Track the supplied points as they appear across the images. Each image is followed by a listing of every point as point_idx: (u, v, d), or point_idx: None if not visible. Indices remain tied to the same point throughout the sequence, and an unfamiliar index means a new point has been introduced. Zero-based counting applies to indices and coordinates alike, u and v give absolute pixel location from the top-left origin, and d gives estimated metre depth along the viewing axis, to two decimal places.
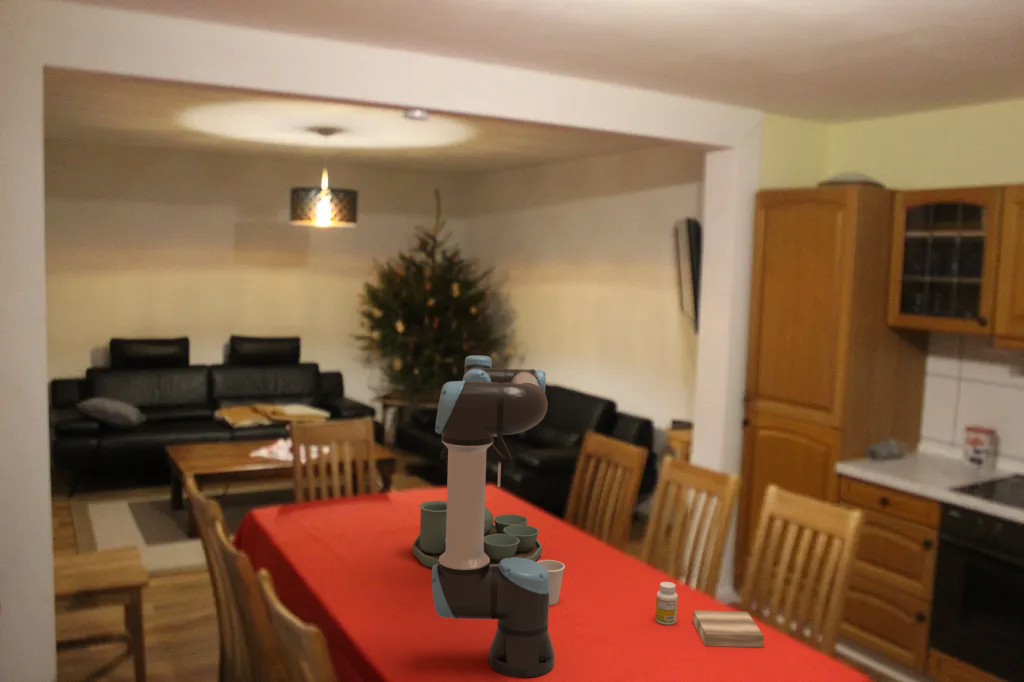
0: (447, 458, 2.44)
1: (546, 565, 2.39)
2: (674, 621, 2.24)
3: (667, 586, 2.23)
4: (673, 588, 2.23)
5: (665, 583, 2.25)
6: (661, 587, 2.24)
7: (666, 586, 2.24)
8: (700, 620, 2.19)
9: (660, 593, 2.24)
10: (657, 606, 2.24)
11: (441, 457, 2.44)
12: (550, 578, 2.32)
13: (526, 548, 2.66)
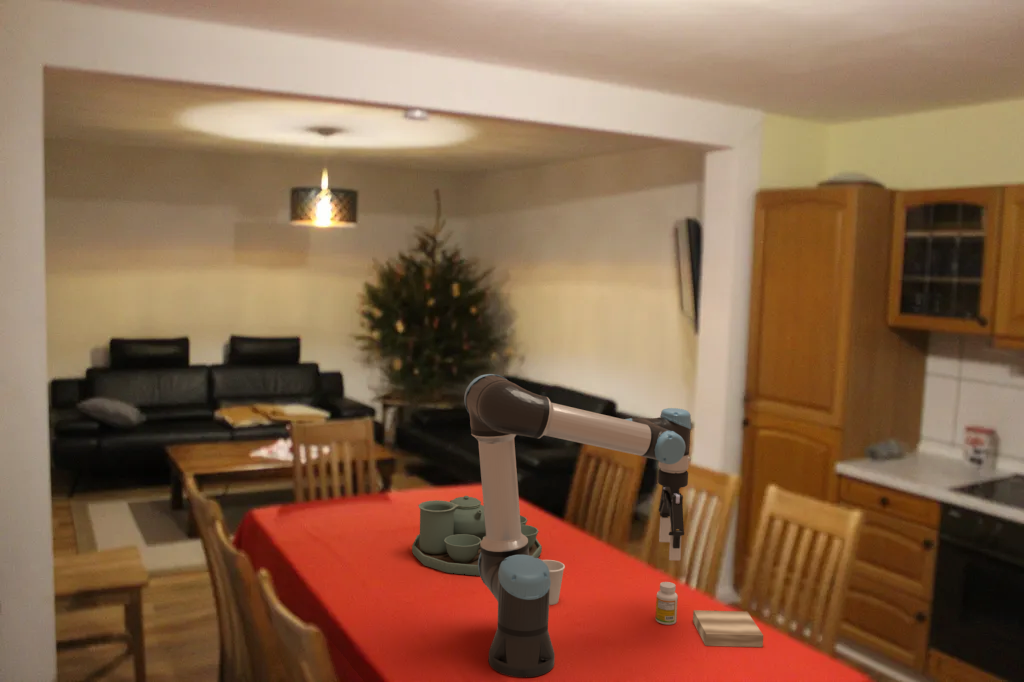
0: (660, 512, 2.31)
1: None
2: (674, 621, 2.24)
3: (667, 586, 2.23)
4: (673, 588, 2.23)
5: (665, 583, 2.25)
6: (661, 587, 2.24)
7: (666, 586, 2.24)
8: (700, 620, 2.19)
9: (660, 593, 2.24)
10: (657, 606, 2.24)
11: (659, 509, 2.32)
12: (550, 578, 2.32)
13: None
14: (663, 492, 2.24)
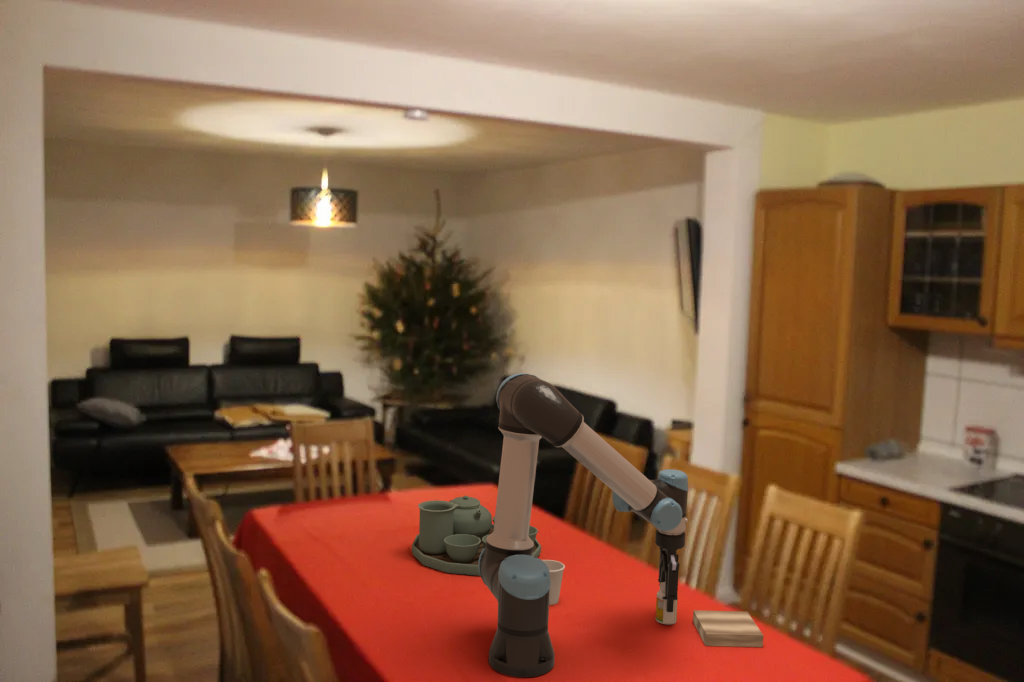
0: None
1: None
2: (674, 621, 2.24)
3: None
4: None
5: None
6: (661, 587, 2.24)
7: None
8: (700, 620, 2.19)
9: (660, 593, 2.24)
10: (657, 606, 2.24)
11: (658, 579, 2.30)
12: (550, 578, 2.32)
13: None
14: (660, 553, 2.25)
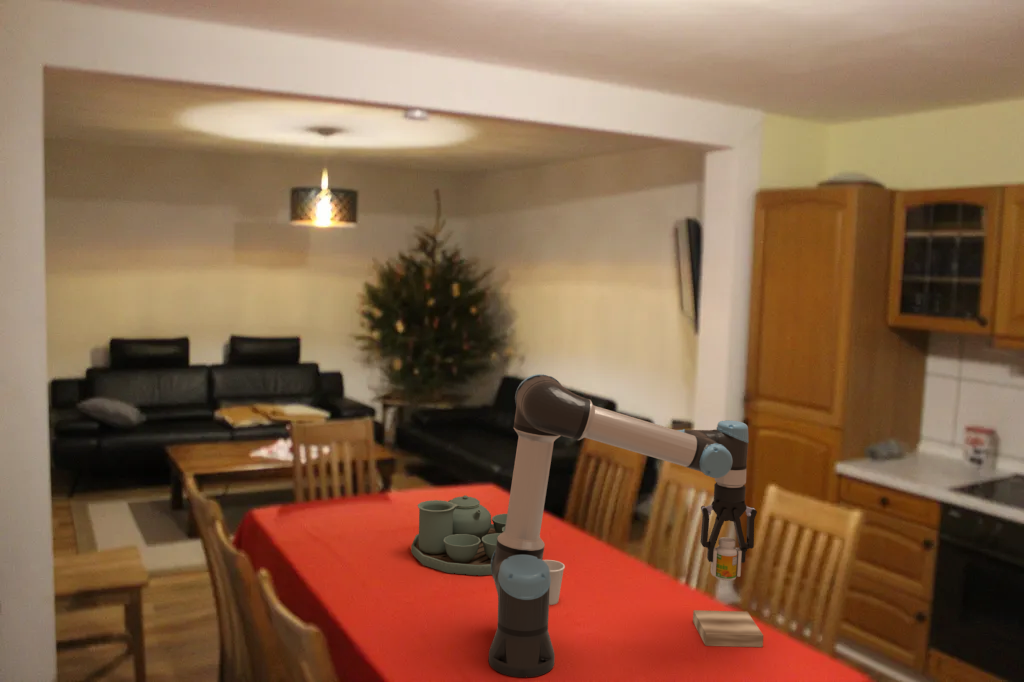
0: (710, 545, 2.16)
1: None
2: None
3: (732, 540, 2.17)
4: None
5: (724, 540, 2.17)
6: (732, 543, 2.15)
7: (731, 540, 2.17)
8: (700, 620, 2.19)
9: (731, 550, 2.15)
10: (731, 565, 2.15)
11: (704, 544, 2.16)
12: None
13: None
14: (724, 511, 2.14)
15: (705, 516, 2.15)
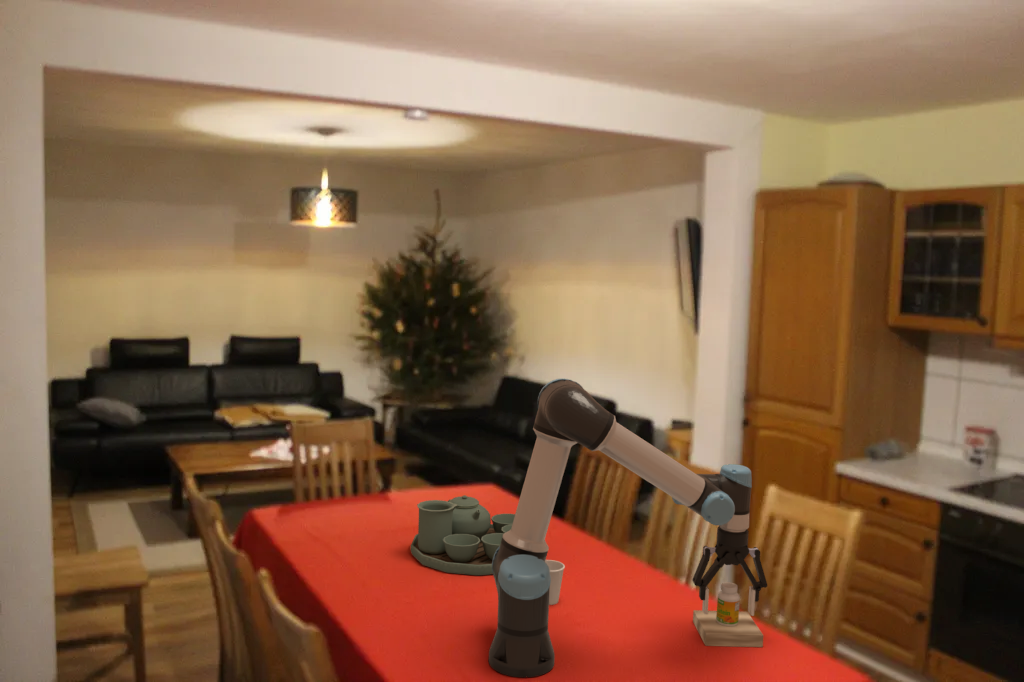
0: (703, 584, 2.16)
1: None
2: None
3: (734, 585, 2.17)
4: None
5: (726, 585, 2.17)
6: (734, 589, 2.16)
7: (733, 585, 2.17)
8: (700, 620, 2.19)
9: (733, 596, 2.16)
10: (733, 610, 2.16)
11: (696, 583, 2.16)
12: None
13: None
14: (727, 555, 2.15)
15: (706, 556, 2.15)
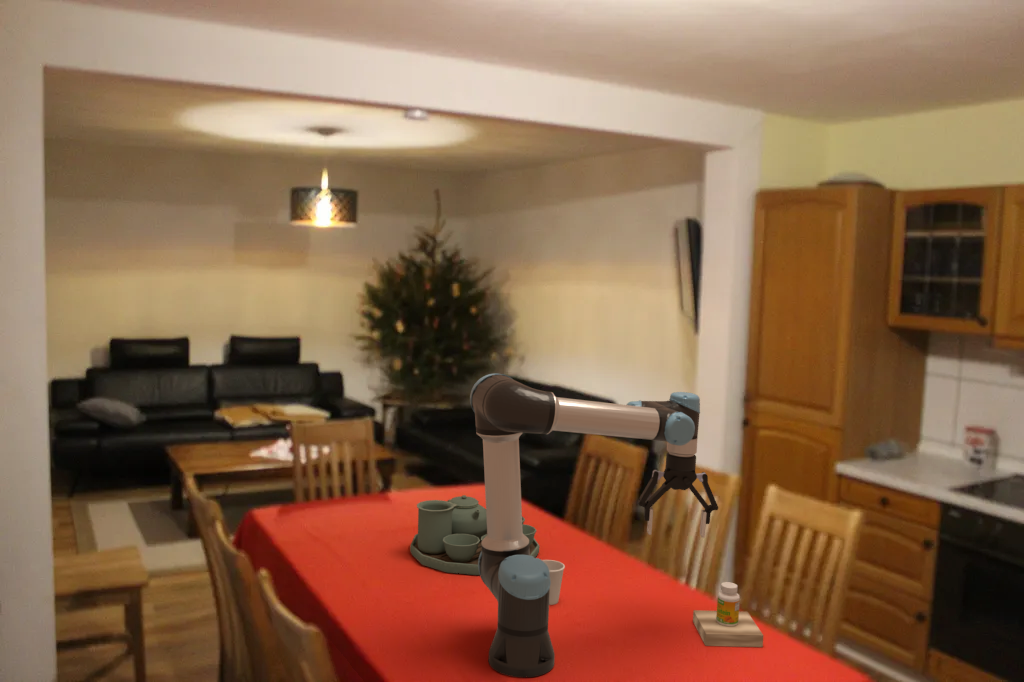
0: (647, 504, 2.22)
1: None
2: None
3: (734, 585, 2.17)
4: None
5: (726, 585, 2.17)
6: (734, 589, 2.16)
7: (733, 585, 2.17)
8: (700, 620, 2.19)
9: (733, 596, 2.16)
10: (733, 610, 2.16)
11: (641, 503, 2.22)
12: (550, 578, 2.32)
13: None
14: (675, 479, 2.20)
15: (654, 479, 2.21)
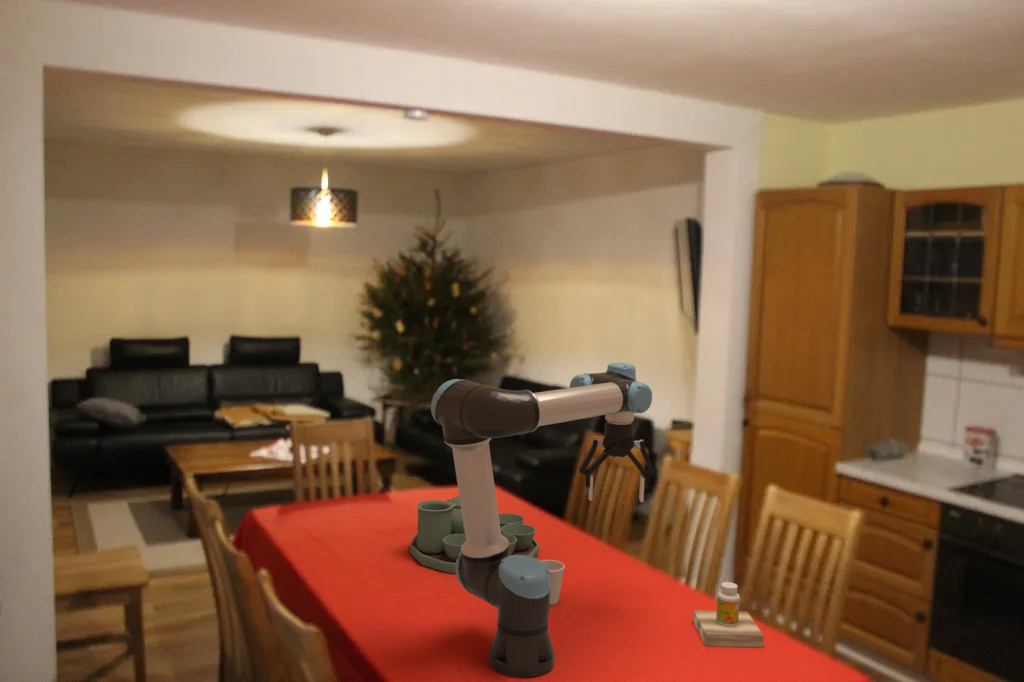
0: (588, 472, 2.30)
1: (546, 565, 2.39)
2: None
3: (734, 585, 2.17)
4: None
5: (726, 585, 2.17)
6: (734, 589, 2.16)
7: (733, 585, 2.17)
8: (700, 620, 2.19)
9: (733, 596, 2.16)
10: (733, 610, 2.16)
11: (581, 471, 2.30)
12: (550, 578, 2.32)
13: (523, 547, 2.67)
14: (613, 447, 2.29)
15: (593, 447, 2.30)
